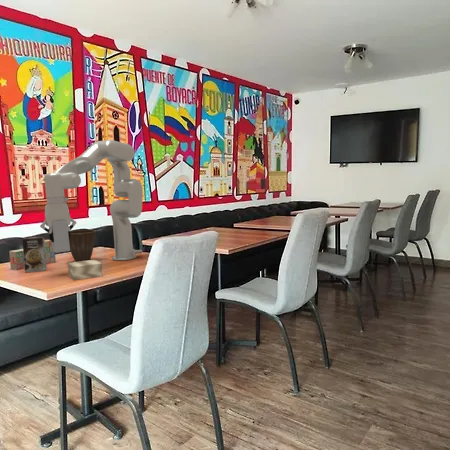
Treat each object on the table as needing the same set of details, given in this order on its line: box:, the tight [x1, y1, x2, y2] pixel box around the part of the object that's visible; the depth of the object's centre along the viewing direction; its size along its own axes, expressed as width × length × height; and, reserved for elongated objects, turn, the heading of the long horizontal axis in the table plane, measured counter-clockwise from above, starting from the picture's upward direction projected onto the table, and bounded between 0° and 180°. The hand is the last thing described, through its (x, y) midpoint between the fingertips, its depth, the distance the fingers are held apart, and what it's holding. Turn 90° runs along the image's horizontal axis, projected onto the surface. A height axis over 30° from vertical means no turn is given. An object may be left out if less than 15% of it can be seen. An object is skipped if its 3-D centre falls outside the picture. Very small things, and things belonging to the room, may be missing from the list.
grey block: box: [52, 220, 71, 254], centre depth 188 cm, size 6×7×14 cm
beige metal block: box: [67, 259, 103, 281], centre depth 185 cm, size 12×12×6 cm
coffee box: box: [22, 236, 48, 273], centre depth 201 cm, size 9×6×16 cm
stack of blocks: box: [8, 239, 57, 271], centre depth 215 cm, size 21×6×12 cm, turn 147°
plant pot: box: [69, 229, 96, 262], centre depth 220 cm, size 15×15×16 cm
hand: (60, 240), depth 188 cm, fingers closed on grey block, 6 cm apart
